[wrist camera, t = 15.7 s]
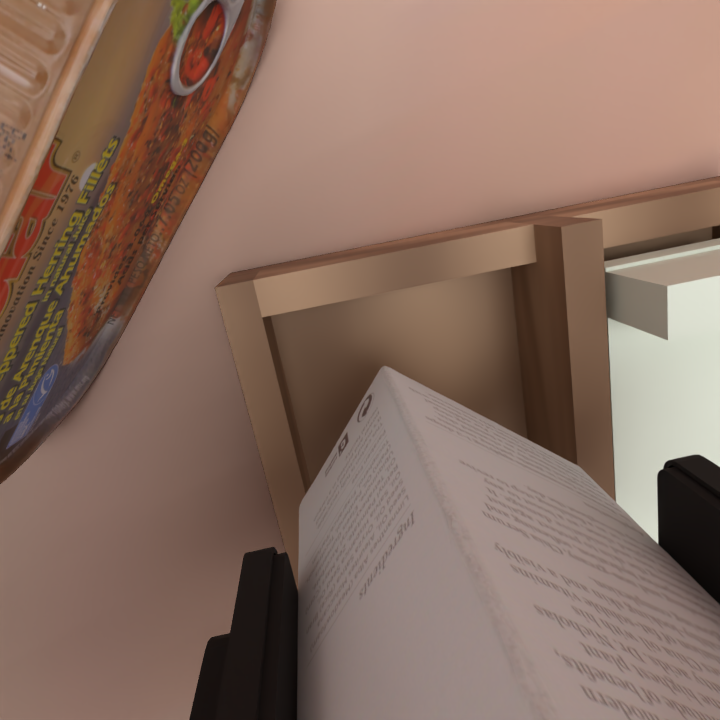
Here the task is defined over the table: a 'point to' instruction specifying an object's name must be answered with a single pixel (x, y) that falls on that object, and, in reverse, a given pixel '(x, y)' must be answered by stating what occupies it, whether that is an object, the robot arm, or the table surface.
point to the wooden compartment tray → (449, 330)
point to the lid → (662, 367)
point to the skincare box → (485, 581)
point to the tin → (100, 176)
